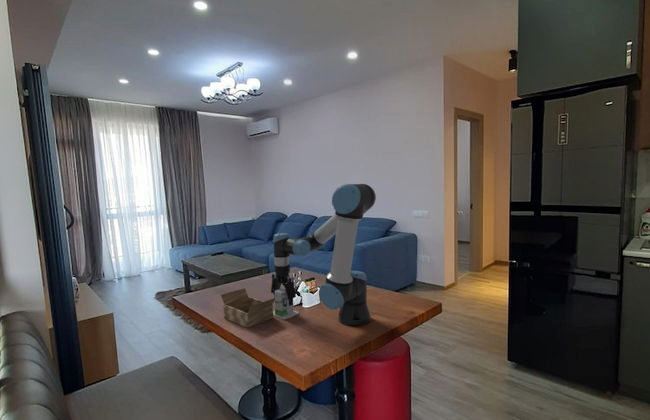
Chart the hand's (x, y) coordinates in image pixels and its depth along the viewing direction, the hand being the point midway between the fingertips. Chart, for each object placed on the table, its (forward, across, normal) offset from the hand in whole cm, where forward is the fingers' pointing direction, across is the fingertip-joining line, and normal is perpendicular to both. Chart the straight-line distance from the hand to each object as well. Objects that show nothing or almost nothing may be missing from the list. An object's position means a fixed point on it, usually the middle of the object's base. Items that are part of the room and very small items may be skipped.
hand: (283, 309), depth 170 cm
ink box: (+2, 0, 0) cm, 2 cm away
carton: (+2, +10, +14) cm, 17 cm away
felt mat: (+2, 0, 0) cm, 2 cm away
